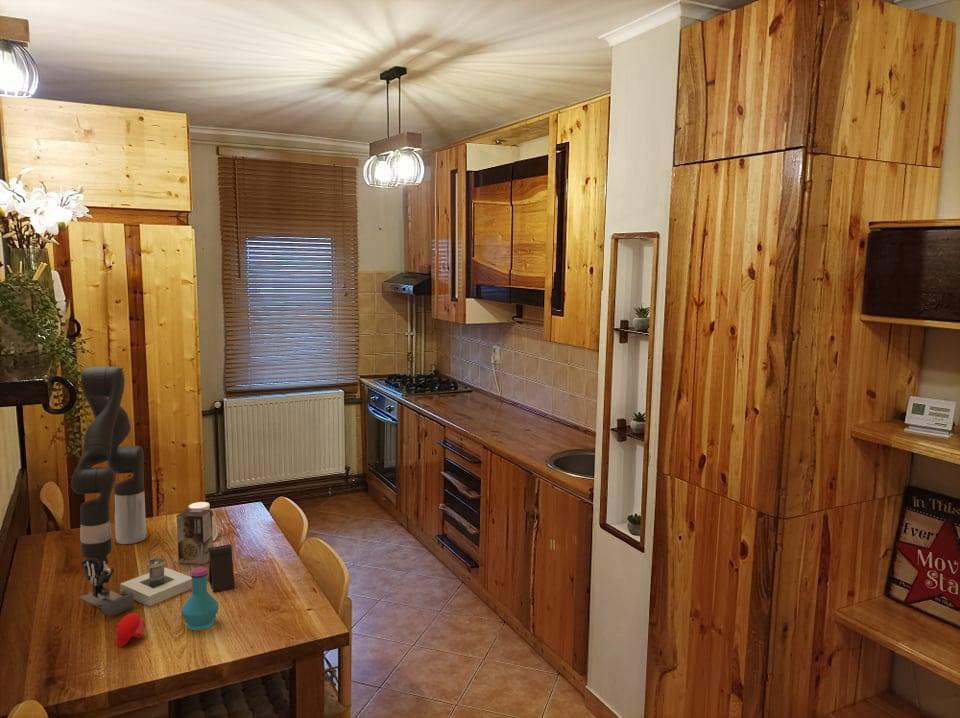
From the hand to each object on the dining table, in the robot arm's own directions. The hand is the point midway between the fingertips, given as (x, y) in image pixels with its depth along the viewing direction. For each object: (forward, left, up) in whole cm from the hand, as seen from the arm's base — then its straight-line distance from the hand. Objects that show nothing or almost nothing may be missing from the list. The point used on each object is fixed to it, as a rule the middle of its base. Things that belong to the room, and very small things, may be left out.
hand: (98, 596), depth 194 cm
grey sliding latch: (+2, 0, -2) cm, 3 cm away
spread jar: (-17, +46, -2) cm, 49 cm away
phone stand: (+19, +26, -2) cm, 33 cm away
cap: (+26, -7, -2) cm, 27 cm away
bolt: (+6, 0, -2) cm, 6 cm away
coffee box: (-3, +33, -2) cm, 33 cm away
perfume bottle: (+34, +8, -2) cm, 35 cm away
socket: (+7, +13, -2) cm, 15 cm away
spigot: (+7, +13, -2) cm, 15 cm away
